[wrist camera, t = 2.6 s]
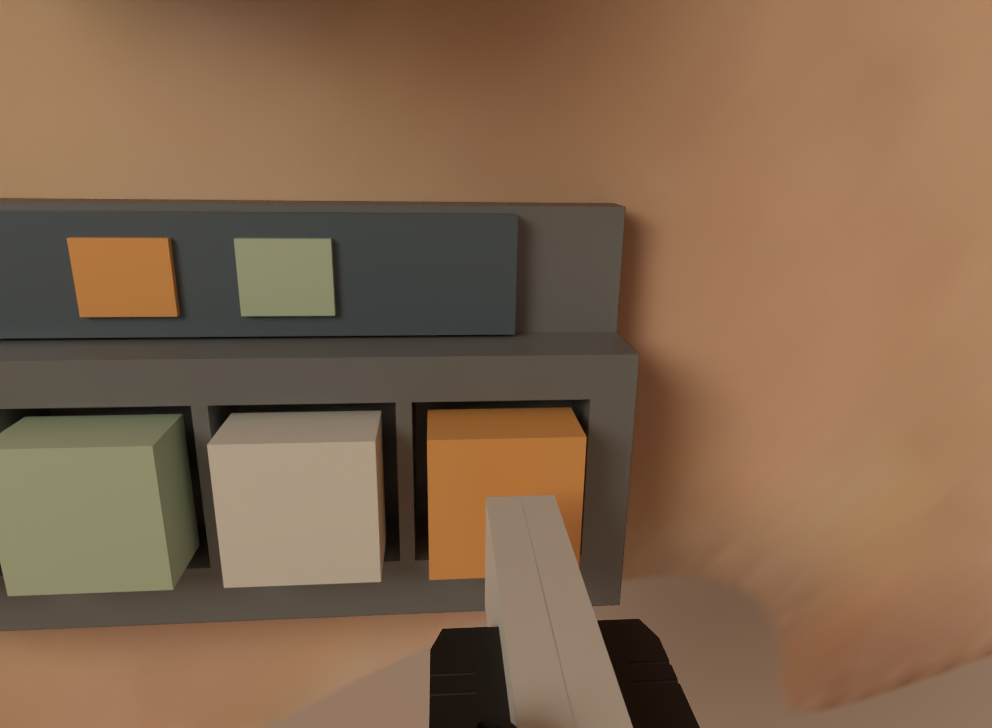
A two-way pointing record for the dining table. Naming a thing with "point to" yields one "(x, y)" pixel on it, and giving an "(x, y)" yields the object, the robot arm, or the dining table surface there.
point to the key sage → (95, 504)
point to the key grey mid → (299, 498)
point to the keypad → (318, 359)
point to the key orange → (497, 476)
